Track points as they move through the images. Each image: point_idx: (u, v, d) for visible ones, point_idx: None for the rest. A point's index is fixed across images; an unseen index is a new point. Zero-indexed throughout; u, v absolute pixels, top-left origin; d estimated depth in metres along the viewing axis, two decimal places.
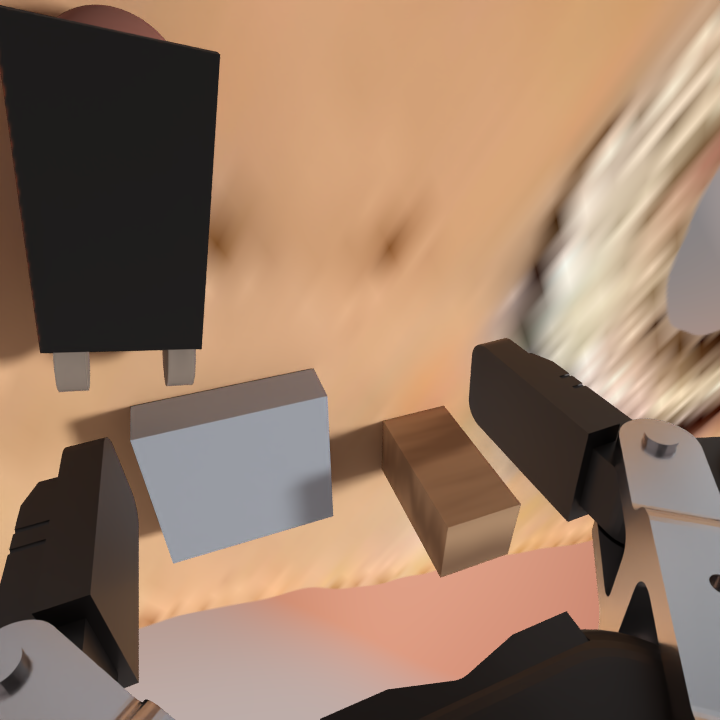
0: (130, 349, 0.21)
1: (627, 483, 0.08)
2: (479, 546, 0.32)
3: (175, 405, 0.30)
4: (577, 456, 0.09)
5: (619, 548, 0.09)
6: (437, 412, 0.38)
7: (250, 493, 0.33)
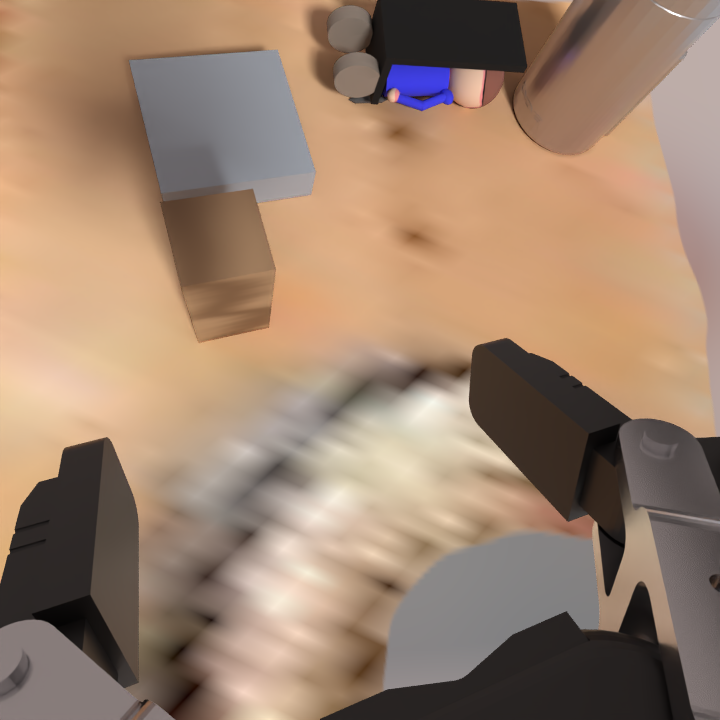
0: (383, 25, 0.38)
1: (627, 483, 0.08)
2: (208, 239, 0.27)
3: None
4: (577, 456, 0.09)
5: (619, 548, 0.09)
6: None
7: (210, 119, 0.37)
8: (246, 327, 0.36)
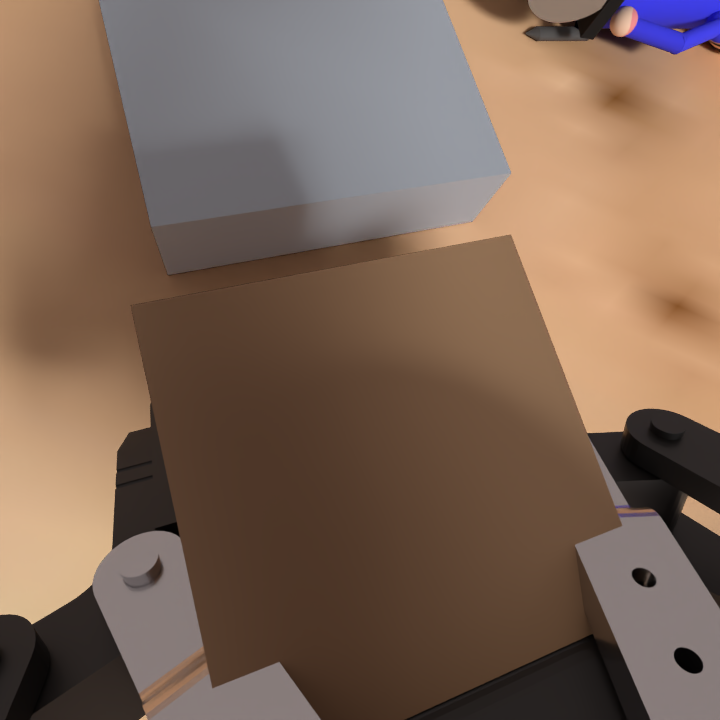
0: None
1: None
2: (356, 484, 0.06)
3: None
4: None
5: None
6: None
7: (269, 48, 0.16)
8: None
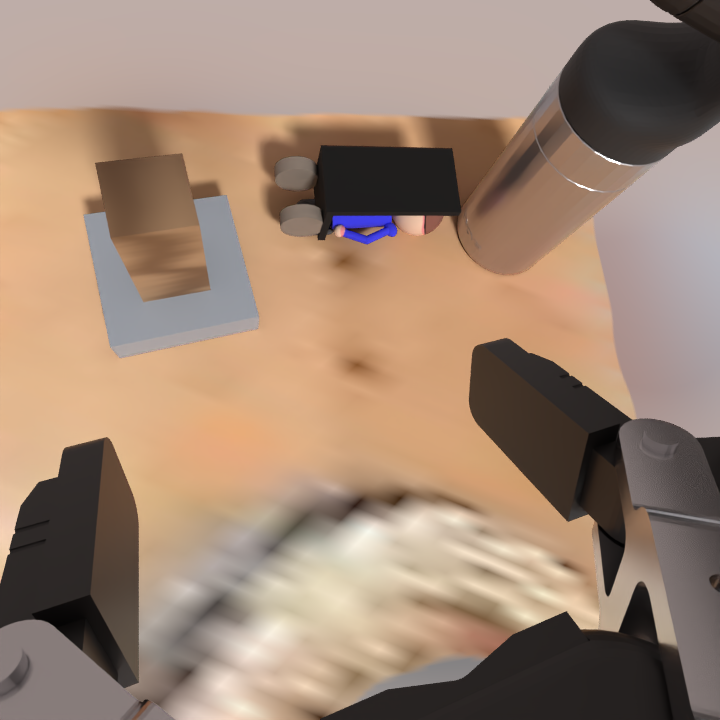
0: (324, 180, 0.41)
1: (627, 483, 0.08)
2: (137, 196, 0.30)
3: None
4: (577, 456, 0.09)
5: (619, 548, 0.09)
6: None
7: None
8: (187, 288, 0.39)
